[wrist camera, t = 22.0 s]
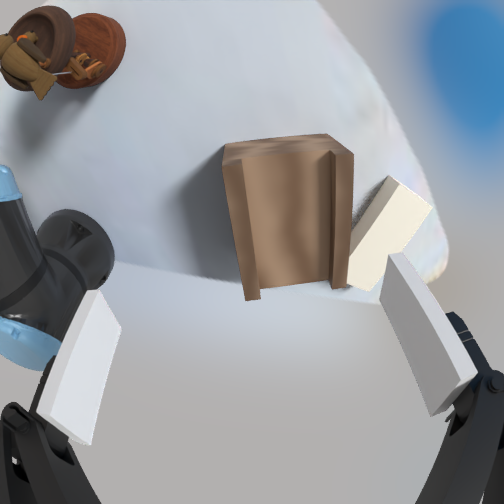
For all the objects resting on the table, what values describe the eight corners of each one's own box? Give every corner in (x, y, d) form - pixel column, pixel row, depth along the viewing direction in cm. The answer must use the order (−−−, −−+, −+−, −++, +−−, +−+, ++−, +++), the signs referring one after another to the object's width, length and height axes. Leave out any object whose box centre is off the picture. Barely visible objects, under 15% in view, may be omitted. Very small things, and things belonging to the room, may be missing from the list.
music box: (153, 30, 27) (63, 22, 11) (114, 101, 32) (19, 154, 17) (69, -1, 21) (-37, -1, 6) (38, 66, 27) (-64, 103, 11)
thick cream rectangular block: (327, 263, 49) (333, 278, 45) (387, 173, 40) (399, 183, 37) (361, 277, 51) (369, 291, 48) (420, 196, 42) (432, 207, 39)
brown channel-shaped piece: (243, 256, 47) (245, 301, 38) (225, 143, 36) (221, 166, 28) (327, 246, 46) (346, 287, 38) (327, 133, 36) (353, 154, 28)
